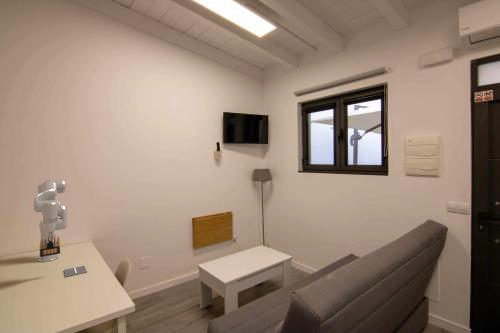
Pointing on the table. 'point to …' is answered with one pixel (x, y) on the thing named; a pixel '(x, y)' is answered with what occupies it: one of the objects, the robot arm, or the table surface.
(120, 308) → the table surface
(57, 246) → the ammunition clip
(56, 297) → the table surface
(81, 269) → the mat
